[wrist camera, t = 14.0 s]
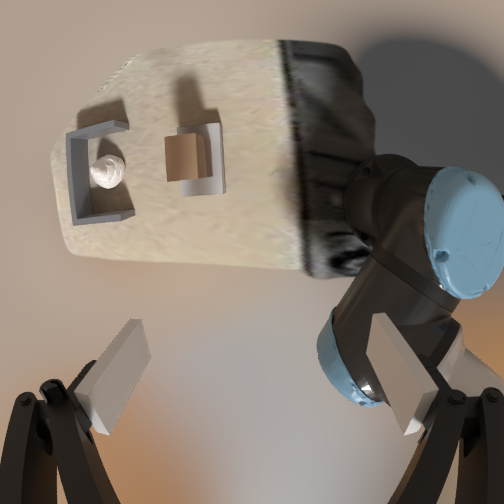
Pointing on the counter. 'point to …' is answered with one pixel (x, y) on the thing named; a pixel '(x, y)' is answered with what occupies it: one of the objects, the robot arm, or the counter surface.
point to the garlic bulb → (108, 171)
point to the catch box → (80, 174)
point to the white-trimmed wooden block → (196, 159)
